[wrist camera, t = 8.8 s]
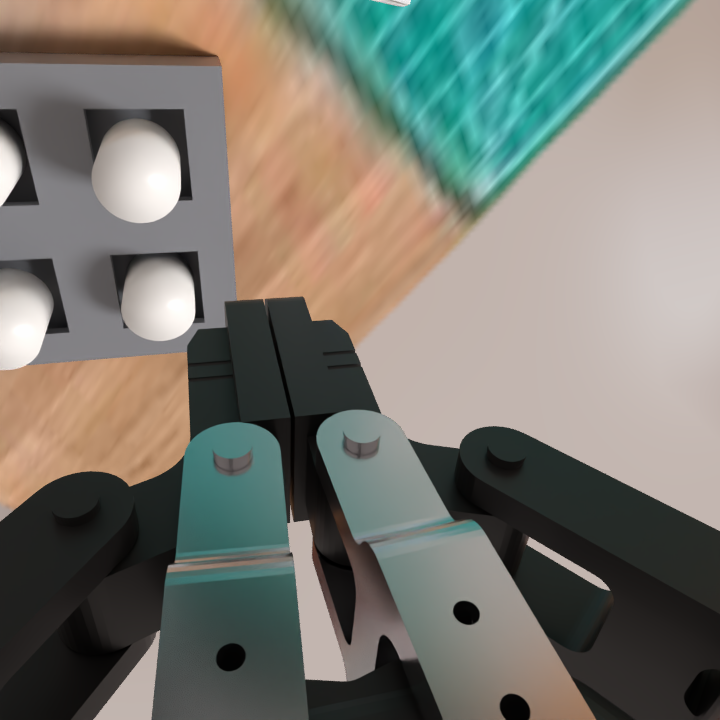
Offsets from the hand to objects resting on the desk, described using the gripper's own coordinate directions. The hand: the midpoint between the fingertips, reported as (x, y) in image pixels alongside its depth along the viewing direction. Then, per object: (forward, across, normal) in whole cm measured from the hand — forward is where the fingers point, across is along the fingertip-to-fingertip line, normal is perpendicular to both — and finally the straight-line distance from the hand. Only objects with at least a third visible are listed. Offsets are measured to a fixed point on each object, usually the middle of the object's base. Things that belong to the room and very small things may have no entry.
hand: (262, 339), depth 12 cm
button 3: (+23, +4, +4) cm, 23 cm away
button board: (+26, +7, +8) cm, 28 cm away
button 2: (+23, +11, +11) cm, 28 cm away
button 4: (+24, +3, +11) cm, 27 cm away
